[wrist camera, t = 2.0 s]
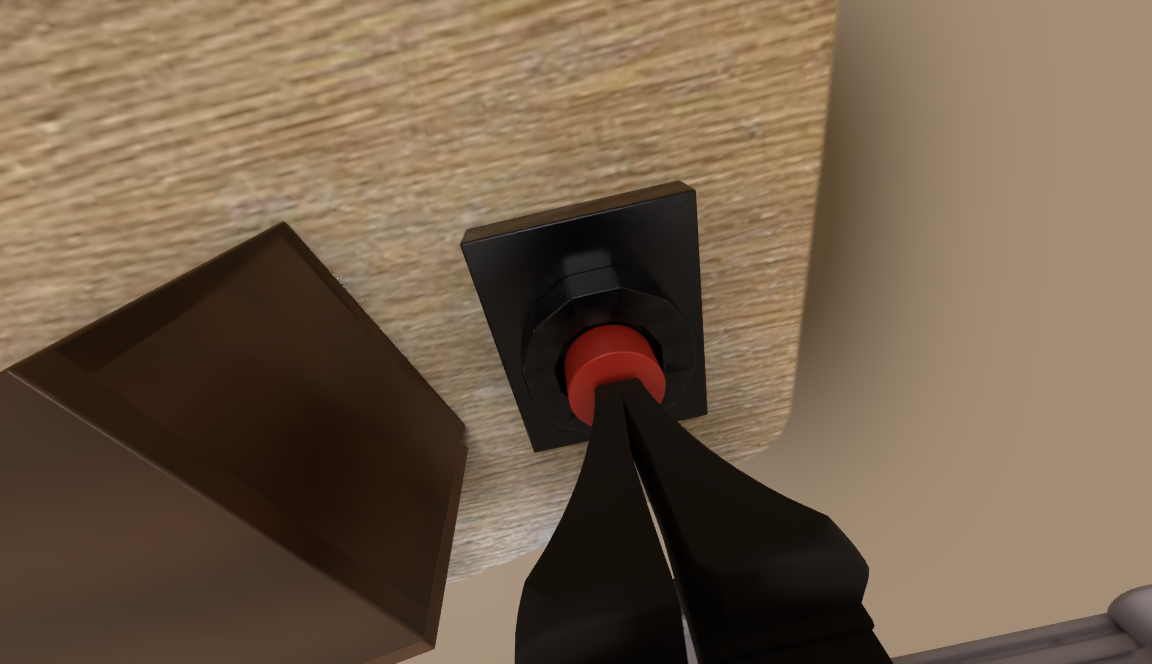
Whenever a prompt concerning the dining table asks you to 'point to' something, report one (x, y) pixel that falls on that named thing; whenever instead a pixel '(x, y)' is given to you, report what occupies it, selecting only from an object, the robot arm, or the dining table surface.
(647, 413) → the robot arm
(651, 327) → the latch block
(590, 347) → the button
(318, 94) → the dining table surface
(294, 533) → the compartment
